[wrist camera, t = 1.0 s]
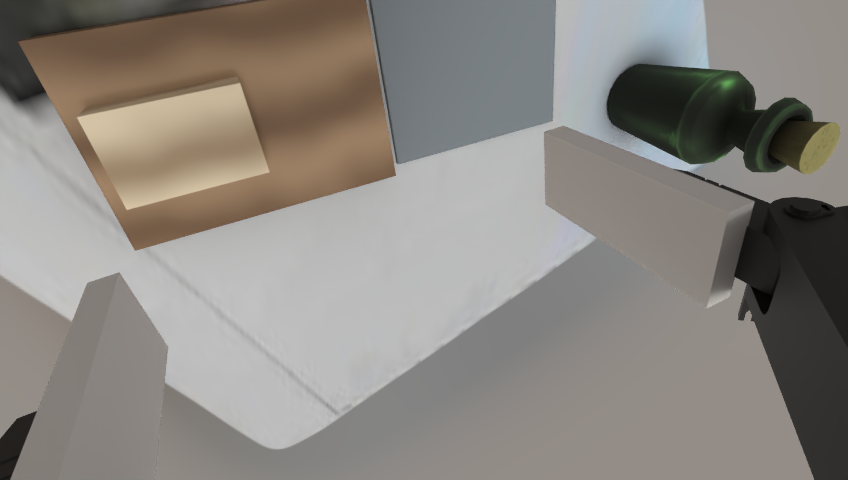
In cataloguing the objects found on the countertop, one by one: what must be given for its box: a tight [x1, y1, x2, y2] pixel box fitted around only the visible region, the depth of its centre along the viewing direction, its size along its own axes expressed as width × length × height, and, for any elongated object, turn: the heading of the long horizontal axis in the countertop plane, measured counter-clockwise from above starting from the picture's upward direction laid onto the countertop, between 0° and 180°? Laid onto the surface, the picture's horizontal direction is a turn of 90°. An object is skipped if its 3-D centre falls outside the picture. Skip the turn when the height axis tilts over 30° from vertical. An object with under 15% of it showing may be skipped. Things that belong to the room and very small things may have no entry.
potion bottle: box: [608, 64, 840, 174], centre depth 40 cm, size 8×8×18 cm
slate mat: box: [370, 0, 556, 164], centre depth 39 cm, size 14×16×1 cm
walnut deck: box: [18, 0, 396, 251], centre depth 33 cm, size 14×20×2 cm
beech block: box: [77, 76, 269, 210], centre depth 30 cm, size 6×9×2 cm, turn 98°
